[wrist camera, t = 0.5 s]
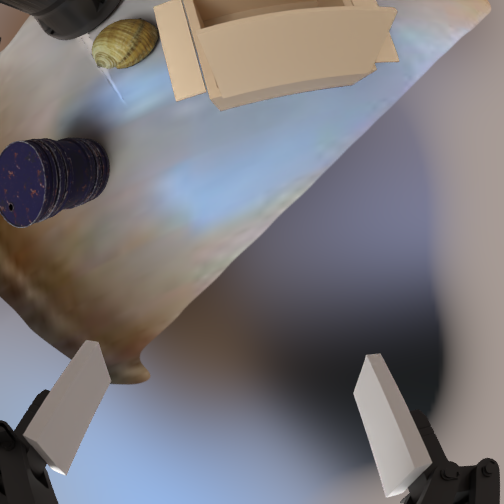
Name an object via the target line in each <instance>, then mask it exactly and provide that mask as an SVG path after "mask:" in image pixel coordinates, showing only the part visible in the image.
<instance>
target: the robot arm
mask: <svg viewBox="0 0 504 504" xmlns="http://www.w3.org/2000/svg"><path fill="white" fill-rule="evenodd" d="M119 1H120V0H0V3H2V4H5V5H7V6H10V7H13V8H15V9H18V10H20V11H23V12H25V13H28V14H30V15H32V16H34V18H35V19H36V20H37V22H38V23H39V25H40V26H41V27H42V29H43V30H44V31H45V33H47V34H48V35H50V36H52V37H54V38H56V39H59V40H70V39H74V38H77V37H79V36H82V35H84V34H86V33H87V32H89V31H91V30H92V29H94V28H95V27H96V26H98V25H99V24H100V23H101V22H102V21H103V20H105V19H106V18H107V17H108V15H109V14H110V13H111V12H112V11H113V10H114V8H115V7H116V6H117V4H118V3H119ZM110 382H111V379H110V376H109V373H108V370H107V368H106V365H105V362H104V359H103V355H102V352H101V349H100V346H99V343H98V342H94V341H89V340H86V341H85V342H84V344H83V345H82V346H81V348H80V349H79V351H78V352H77V353H76V355H75V356H74V357H73V359H72V360H71V362H70V363H69V365H68V366H67V367H66V369H65V370H64V372H63V373H62V375H61V376H60V378H59V379H58V381H57V382H56V383H55V385H54V386H53V388H52V389H51V391H49V390H44V391H42V392H41V393H40V394H38V395H37V396H36V398H35V400H34V401H33V403H32V404H31V405H30V407H29V408H28V411H27V412H26V413H25V415H24V416H23V418H22V419H21V421H20V423H19V424H18V426H17V427H16V429H15V430H14V431H13V430H12V428H11V427H10V426H9V425H8V424H7V423H6V422H5V421H2V420H0V504H58V501H57V499H56V496H55V493H54V490H53V488H52V485H51V482H50V479H49V476H48V472H47V470H46V469H45V466H46V464H48V465H49V466H50V467H51V469H53V470H55V471H56V472H59V473H61V474H63V475H67V473H68V470H69V468H70V466H71V463H72V461H73V459H74V457H75V454H76V452H77V450H78V448H79V446H80V443H81V441H82V439H83V437H84V434H85V432H86V431H87V428H88V426H89V424H90V422H91V420H92V418H93V416H94V414H95V412H96V410H97V408H98V406H99V404H100V402H101V400H102V398H103V396H104V394H105V392H106V390H107V388H108V386H109V384H110ZM353 394H354V397H355V400H356V402H357V405H358V408H359V411H360V414H361V417H362V420H363V423H364V427H365V430H366V433H367V436H368V439H369V442H370V445H371V449H372V452H373V455H374V458H375V462H376V465H377V468H378V472H379V475H380V479H381V482H382V485H383V489H384V492H385V496H386V498H387V497H390V496H394V495H398V494H401V493H403V492H404V491H405V490H406V489H407V488H408V489H409V492H410V493H409V494H408V495H407V496H406V497H405V498H403V499H402V501H401V502H400V503H403V502H404V501H405V502H404V504H500V474H499V473H500V472H499V466H498V464H497V462H496V461H495V460H493V459H490V458H485V459H483V460H481V461H480V462H479V463H478V464H477V465H474V466H462V467H461V466H458V465H457V464H456V463H454V462H451V461H448V460H447V458H446V456H445V454H444V452H443V450H442V448H441V445H440V443H439V441H438V439H437V437H436V435H435V434H434V431H433V429H432V427H431V425H430V423H429V421H428V419H427V417H426V416H425V415H424V414H423V413H422V412H421V411H420V410H413V411H409V410H408V408H407V406H406V403H405V401H404V399H403V397H402V395H401V393H400V391H399V389H398V387H397V385H396V383H395V381H394V379H393V377H392V375H391V373H390V371H389V369H388V367H387V365H386V363H385V362H384V360H383V358H382V356H381V354H372V355H366V358H365V361H364V365H363V367H362V371H361V373H360V376H359V379H358V382H357V384H356V387H355V390H354V393H353Z"/></svg>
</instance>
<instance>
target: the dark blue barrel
mask: <svg viewBox="0 0 504 504" xmlns="http://www.w3.org/2000/svg"><path fill="white" fill-rule="evenodd" d="M109 171H110V169H109V160H108V156H107V154H106V152H105V150H104V149H103V147H102V146H101V145H100V144H99V143H97V142H96V141H94V140H91V139H81V138H65V139H60V140H58V141H55V140H52V139H48V138H43V139H31V140H26V141H16V142H13V143H11V144H9V145H8V146H7V147H6V148H5V149H4V150H3V152H2V153H1V155H0V213H1V215H2V216H3V217H4V219H5V220H6V221H7V222H8V223H9V224H11V225H13V226H15V227H18V228H24V227H27V226H30V225H32V224H34V223H37V222H41V221H43V220H46V219H47V218H50V217H53V216H55V215H56V214H57V213H59V212H60V211H61V210H63V209H71V208H74V207H77V206H80V205H82V204H84V203H86V202H88V201H91V200H93V199H95V198H96V197H98V196H99V195H100V194H101V193H102V191H103V190H104V188H105V186H106V184H107V182H108V178H109Z"/></svg>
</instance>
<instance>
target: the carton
mask: <svg viewBox="0 0 504 504" xmlns="http://www.w3.org/2000/svg"><path fill="white" fill-rule="evenodd" d="M183 2H184V6H185V9H186V13H187V17H188V20H189V24H190V28H191V31H192V35H193V39H194V42H195V46H196V50H197V53H198V57H199V61H200V64H201V68H202V72H203V75H204V79H205V83H206V86H207V90H208V94H209V97H210V100H211V101H212V102H213V103H214V104H215V105H216V107H217V108H218V109H219V110H220V111H223V110H227V109H230V108H234V107H238V106H242V105H246V104H250V103H254V102H258V101H263V100H267V99H272V98H276V97H281V96H286V95H291V94H297V93H302V92H308V91H314V90H321V89H328V88H335V87H343V86H351V85H353V84H355V83H356V82H358V81H360V80H361V79H363V78H364V77H366V76H368V75H369V74H371V73H373V72H374V71H376V70H377V69H376V66H375V63H380V62H399V58H398V55H397V52H396V49H395V47H394V44H393V41H392V38H391V36H390V33H389V32H388V34H387V36H386V39H385V41H384V43H383V45H382V48H381V50H380V52H379V54H378V56H377V59H376V61H375V63H374V65H373V67H372V69H371V72H370V73H365V74H353V75H343V76H335V77H327V78H319V79H313V80H306V81H300V82H294V83H289V84H284V85H279V86H274V87H269V88H264V89H260V90H255V91H251V92H247V93H243V94H239V95H235V96H231V97H227V98H224V99H223V97H222V95H221V92H220V90H219V87H218V85H217V82H216V80H215V77H214V75H213V72H212V70H211V68H210V65H209V63H208V60H207V58H206V55H205V53H204V51H203V48H202V46H201V43H200V41H199V39H198V36H197V33H196V30H200V29H203V28H206V27H210V26H214V25H217V24H221V23H225V22H229V21H233V20H238V19H242V18H247V17H252V16H257V15H263V14H269V13H275V12H282V11H289V10H297V9H307V8H319V7H338V6H374V7H378V4H377V2H376V0H183ZM153 8H154V12H155V16H156V21H157V25H158V30H159V34H160V38H161V42H162V47H163V51H164V55H165V59H166V63H167V67H168V71H169V75H170V79H171V83H172V87H173V91H174V95H175V99H176V101H177V102H178V101H181V100H183V99H186V98H189V97H193V96H196V95H199V94H202V93H205V92H206V88H205V84H204V81H203V77H202V73H201V70H200V66H199V62H198V59H197V55H196V51H195V48H194V44H193V40H192V37H191V33H190V29H189V26H188V22H187V18H186V15H185V11H184V7H183V4H182V0H171V1H169V2H166V3H163V4H160V5H158V6H155V7H153Z"/></svg>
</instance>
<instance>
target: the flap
mask: <svg viewBox="0 0 504 504" xmlns="http://www.w3.org/2000/svg"><path fill="white" fill-rule="evenodd" d="M396 14H397V10H396V9H395V8H392V7H374V6H338V7H319V8H307V9H297V10H289V11H282V12H275V13H269V14H263V15H257V16H252V17H247V18H242V19H238V20H233V21H229V22H225V23H221V24H217V25H214V26H210V27H206V28H203V29H200V30H196V33H197V36H198V39H199V41H200V43H201V46H202V48H203V51H204V53H205V55H206V58H207V60H208V63H209V65H210V68H211V70H212V72H213V75H214V77H215V80H216V82H217V85H218V87H219V90H220V92H221V95H222V97H223V99H224V98H227V97H231V96H235V95H239V94H243V93H247V92H251V91H255V90H260V89H264V88H269V87H274V86H279V85H284V84H289V83H294V82H300V81H306V80H313V79H319V78H327V77H335V76H343V75H353V74H365V73H370V72H371V69H372V67H373V65H374V63H375V61H376V59H377V56H378V54H379V52H380V50H381V48H382V45H383V43H384V41H385V39H386V36H387V34H388V32H389V30H390V27H391V25H392V23H393V21H394V18H395V16H396Z"/></svg>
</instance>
